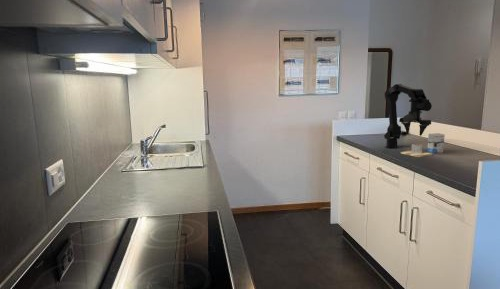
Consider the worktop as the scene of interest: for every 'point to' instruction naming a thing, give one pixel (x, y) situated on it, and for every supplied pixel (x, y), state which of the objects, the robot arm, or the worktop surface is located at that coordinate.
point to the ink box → (435, 143)
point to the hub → (416, 149)
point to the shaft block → (417, 154)
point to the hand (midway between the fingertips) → (413, 134)
